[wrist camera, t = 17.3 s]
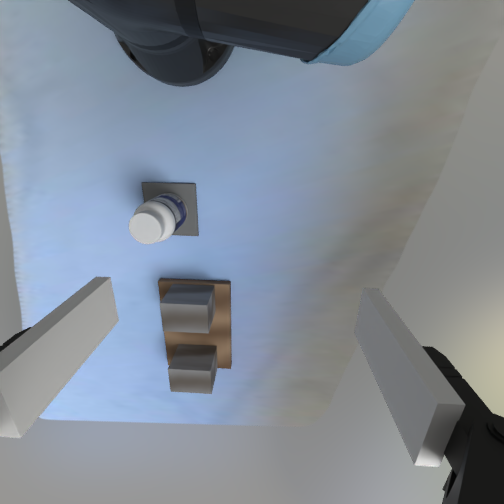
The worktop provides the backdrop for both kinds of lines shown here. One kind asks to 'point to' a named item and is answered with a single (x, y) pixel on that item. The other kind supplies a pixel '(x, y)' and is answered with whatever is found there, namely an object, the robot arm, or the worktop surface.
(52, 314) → the robot arm
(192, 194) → the pad
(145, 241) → the pill bottle
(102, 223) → the worktop surface
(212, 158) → the worktop surface
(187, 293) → the board with two blocks
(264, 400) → the worktop surface
